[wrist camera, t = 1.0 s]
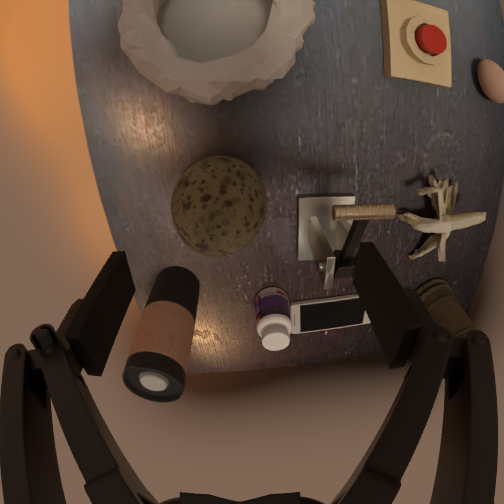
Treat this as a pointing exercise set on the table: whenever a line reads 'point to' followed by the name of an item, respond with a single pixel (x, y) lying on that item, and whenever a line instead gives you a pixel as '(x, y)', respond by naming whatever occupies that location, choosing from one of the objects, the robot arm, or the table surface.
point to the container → (444, 307)
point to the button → (431, 39)
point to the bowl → (213, 43)
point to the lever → (356, 231)
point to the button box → (414, 42)
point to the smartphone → (327, 313)
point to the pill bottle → (273, 318)
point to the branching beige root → (440, 217)
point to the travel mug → (164, 338)
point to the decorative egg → (218, 205)
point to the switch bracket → (322, 232)
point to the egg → (491, 80)
